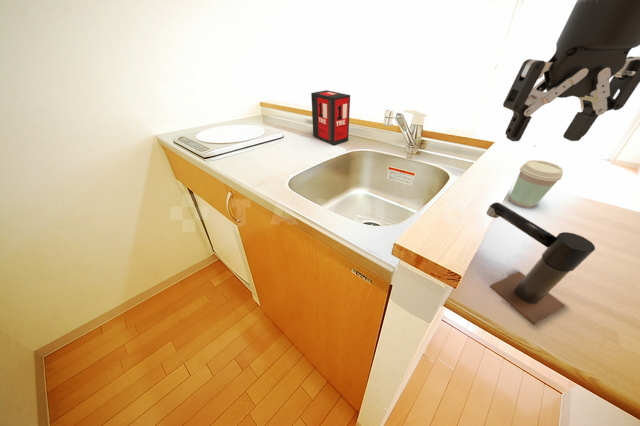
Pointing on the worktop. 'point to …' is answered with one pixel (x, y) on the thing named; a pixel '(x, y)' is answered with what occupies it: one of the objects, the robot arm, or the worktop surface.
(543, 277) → the base
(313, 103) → the cleaning product box
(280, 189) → the worktop surface
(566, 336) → the worktop surface
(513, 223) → the spout
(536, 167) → the coffee cup
